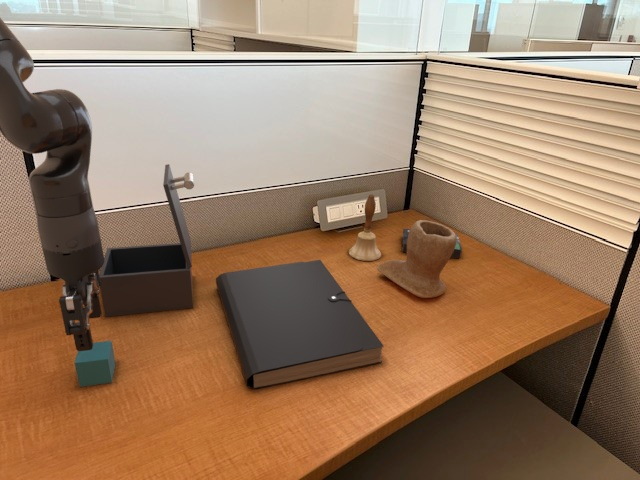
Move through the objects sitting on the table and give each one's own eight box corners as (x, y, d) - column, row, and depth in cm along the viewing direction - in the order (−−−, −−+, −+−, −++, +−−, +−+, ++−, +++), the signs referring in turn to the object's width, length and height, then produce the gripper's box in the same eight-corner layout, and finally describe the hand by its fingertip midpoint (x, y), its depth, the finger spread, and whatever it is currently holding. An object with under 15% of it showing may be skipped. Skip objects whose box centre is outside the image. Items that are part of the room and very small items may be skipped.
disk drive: (402, 253, 124) (461, 259, 122) (403, 244, 123) (462, 249, 121) (401, 237, 133) (456, 241, 131) (402, 228, 132) (458, 232, 130)
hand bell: (371, 244, 127) (376, 187, 121) (387, 258, 121) (394, 198, 114) (343, 249, 124) (347, 191, 117) (358, 263, 117) (363, 202, 111)
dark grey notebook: (385, 343, 82) (245, 373, 75) (383, 362, 84) (246, 393, 77) (321, 258, 110) (215, 272, 103) (320, 273, 112) (216, 289, 105)
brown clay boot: (458, 292, 107) (470, 231, 101) (419, 306, 101) (429, 242, 95) (412, 264, 118) (420, 207, 112) (374, 275, 112) (381, 216, 106)
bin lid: (163, 185, 85) (191, 179, 86) (165, 164, 96) (190, 159, 97) (187, 268, 93) (213, 262, 94) (187, 240, 104) (210, 235, 105)
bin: (105, 317, 93) (98, 277, 89) (113, 284, 104) (107, 248, 100) (193, 308, 97) (190, 270, 93) (192, 277, 108) (189, 242, 104)
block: (79, 387, 76) (74, 363, 74) (84, 367, 80) (79, 343, 78) (112, 382, 77) (107, 359, 75) (115, 363, 81) (111, 340, 79)
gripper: (53, 220, 73) (73, 310, 80) (27, 263, 61) (52, 365, 67) (106, 217, 75) (121, 305, 82) (91, 258, 62) (110, 358, 69)
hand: (90, 332), depth 75 cm, fingers open, 8 cm apart
